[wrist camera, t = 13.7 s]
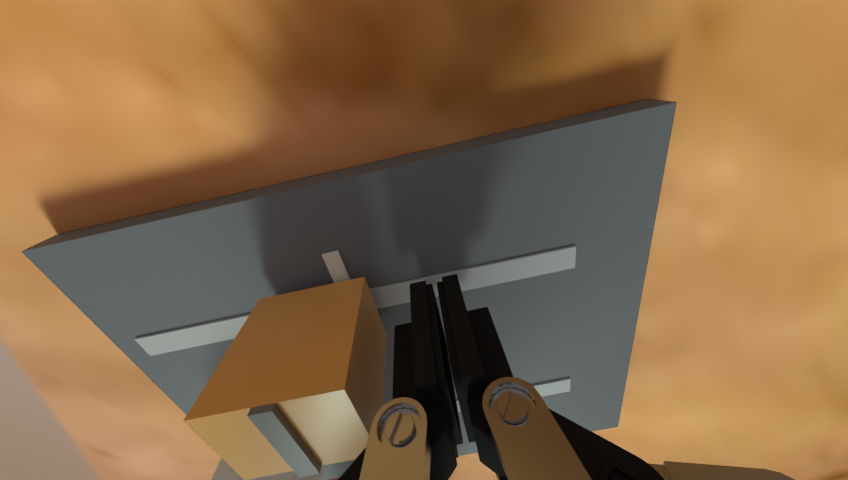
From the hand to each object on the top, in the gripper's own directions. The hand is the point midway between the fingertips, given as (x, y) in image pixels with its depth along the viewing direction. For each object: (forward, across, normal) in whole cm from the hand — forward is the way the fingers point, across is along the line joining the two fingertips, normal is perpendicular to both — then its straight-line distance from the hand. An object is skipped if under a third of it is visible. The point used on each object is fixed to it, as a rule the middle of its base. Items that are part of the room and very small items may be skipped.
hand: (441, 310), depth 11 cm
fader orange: (+1, +4, 0) cm, 5 cm away
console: (+3, +2, +4) cm, 5 cm away
